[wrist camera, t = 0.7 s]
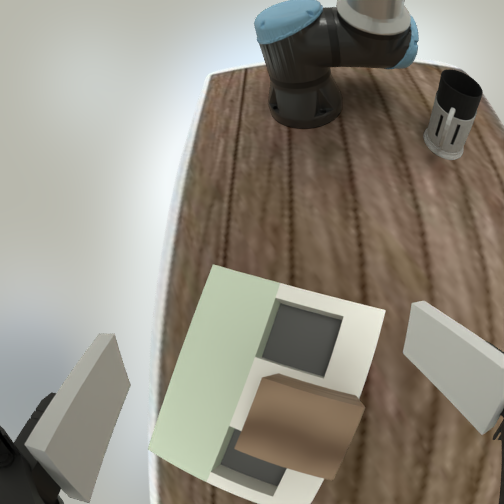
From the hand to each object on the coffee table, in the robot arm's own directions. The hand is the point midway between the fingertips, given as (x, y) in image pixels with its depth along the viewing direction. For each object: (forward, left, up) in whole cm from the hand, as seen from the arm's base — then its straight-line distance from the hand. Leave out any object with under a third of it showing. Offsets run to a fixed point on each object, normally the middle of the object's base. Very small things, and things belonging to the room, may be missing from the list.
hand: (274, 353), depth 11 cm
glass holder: (-40, +15, -28) cm, 51 cm away
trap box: (+7, -5, -28) cm, 29 cm away
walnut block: (+7, +2, -24) cm, 25 cm away
